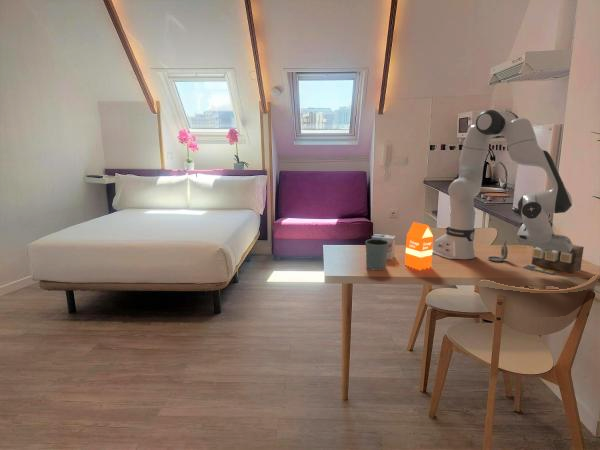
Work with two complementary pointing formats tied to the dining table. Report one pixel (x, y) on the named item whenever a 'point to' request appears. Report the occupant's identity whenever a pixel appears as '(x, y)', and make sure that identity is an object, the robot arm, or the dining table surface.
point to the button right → (566, 257)
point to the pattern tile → (540, 269)
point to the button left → (538, 253)
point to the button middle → (552, 255)
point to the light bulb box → (390, 243)
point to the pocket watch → (503, 254)
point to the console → (561, 265)
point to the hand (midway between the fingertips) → (548, 251)
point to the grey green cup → (376, 253)
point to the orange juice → (419, 246)
